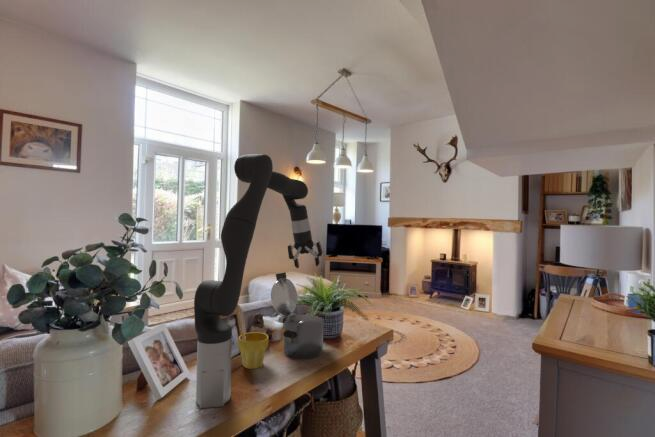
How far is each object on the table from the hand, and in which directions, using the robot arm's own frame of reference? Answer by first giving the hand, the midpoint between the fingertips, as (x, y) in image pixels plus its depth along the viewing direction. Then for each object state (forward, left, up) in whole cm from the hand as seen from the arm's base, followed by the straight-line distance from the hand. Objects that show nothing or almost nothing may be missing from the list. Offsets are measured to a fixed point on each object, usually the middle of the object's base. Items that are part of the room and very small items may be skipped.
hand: (307, 266), depth 147 cm
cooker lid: (-7, +10, -10) cm, 16 cm away
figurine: (-2, +20, -31) cm, 37 cm away
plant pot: (-23, +22, -31) cm, 44 cm away
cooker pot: (-14, +3, -31) cm, 34 cm away
